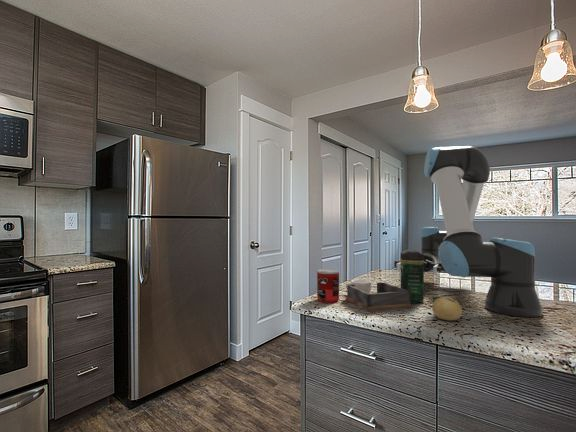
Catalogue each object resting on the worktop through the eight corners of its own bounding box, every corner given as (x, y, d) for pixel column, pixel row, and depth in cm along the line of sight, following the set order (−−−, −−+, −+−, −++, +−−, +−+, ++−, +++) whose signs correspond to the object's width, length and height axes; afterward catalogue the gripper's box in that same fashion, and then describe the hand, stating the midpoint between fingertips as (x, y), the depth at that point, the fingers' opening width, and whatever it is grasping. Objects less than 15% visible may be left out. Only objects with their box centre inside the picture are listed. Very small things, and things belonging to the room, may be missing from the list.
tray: (410, 307, 103) (410, 291, 103) (368, 311, 99) (368, 294, 99) (383, 296, 118) (383, 282, 118) (346, 299, 114) (346, 284, 114)
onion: (428, 319, 91) (428, 295, 91) (436, 313, 97) (436, 290, 97) (459, 325, 86) (458, 300, 86) (464, 318, 92) (464, 294, 92)
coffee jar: (426, 304, 107) (425, 251, 108) (402, 302, 109) (401, 250, 110) (421, 297, 117) (421, 248, 117) (399, 296, 119) (399, 248, 119)
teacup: (369, 292, 124) (369, 279, 124) (373, 297, 117) (373, 283, 117) (344, 292, 125) (344, 279, 125) (346, 297, 118) (346, 283, 118)
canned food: (315, 298, 116) (315, 269, 116) (335, 297, 117) (335, 268, 117) (319, 303, 108) (319, 272, 108) (341, 302, 109) (341, 272, 109)
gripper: (457, 273, 130) (451, 282, 112) (397, 268, 144) (383, 275, 127) (457, 255, 130) (451, 261, 112) (397, 252, 144) (383, 256, 127)
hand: (415, 268), depth 119 cm, fingers open, 13 cm apart
